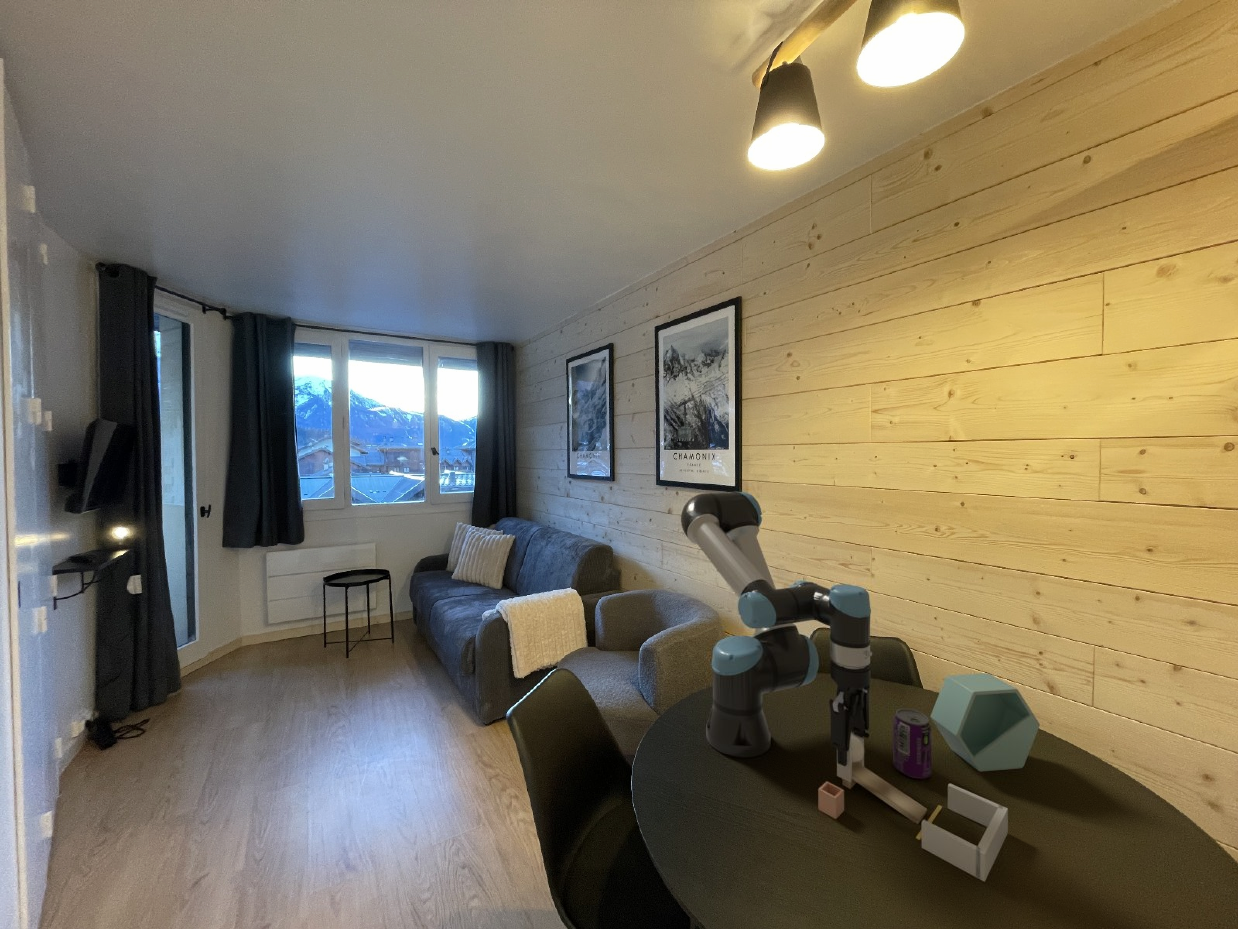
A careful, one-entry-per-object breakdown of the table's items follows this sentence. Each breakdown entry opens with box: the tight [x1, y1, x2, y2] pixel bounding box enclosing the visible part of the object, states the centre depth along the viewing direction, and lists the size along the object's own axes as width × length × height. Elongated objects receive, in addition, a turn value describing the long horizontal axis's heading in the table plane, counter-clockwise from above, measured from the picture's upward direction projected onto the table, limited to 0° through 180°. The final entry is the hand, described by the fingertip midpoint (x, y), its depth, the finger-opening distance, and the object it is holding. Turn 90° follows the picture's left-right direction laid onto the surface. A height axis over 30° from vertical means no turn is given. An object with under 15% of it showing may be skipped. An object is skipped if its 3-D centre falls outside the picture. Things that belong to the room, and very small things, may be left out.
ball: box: [849, 735, 865, 762], centre depth 101 cm, size 5×5×5 cm
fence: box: [921, 783, 1009, 882], centre depth 86 cm, size 9×15×4 cm, turn 130°
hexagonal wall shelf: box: [929, 672, 1041, 772], centre depth 108 cm, size 17×8×21 cm
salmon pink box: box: [817, 780, 845, 820], centre depth 94 cm, size 3×3×4 cm
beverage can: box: [892, 708, 933, 779], centre depth 105 cm, size 7×7×12 cm
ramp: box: [841, 762, 928, 825], centre depth 97 cm, size 15×4×4 cm, turn 40°
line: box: [915, 804, 943, 841], centre depth 90 cm, size 1×12×1 cm, turn 130°
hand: (850, 772), depth 101 cm, fingers closed on ball, 5 cm apart
